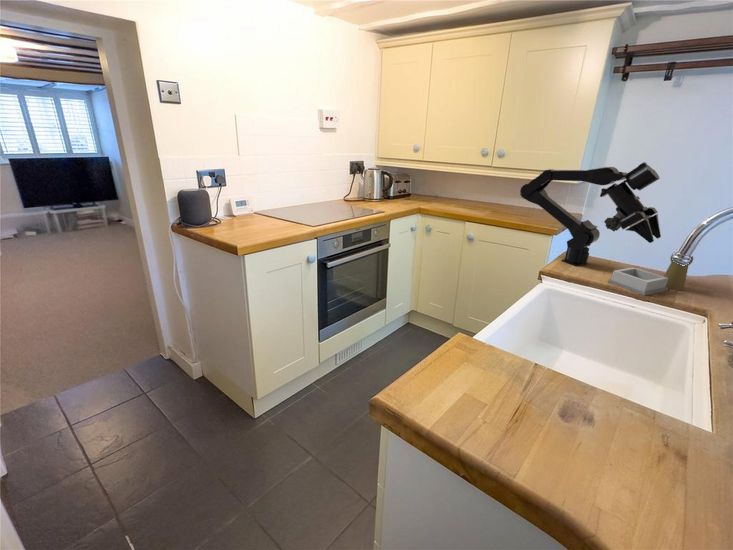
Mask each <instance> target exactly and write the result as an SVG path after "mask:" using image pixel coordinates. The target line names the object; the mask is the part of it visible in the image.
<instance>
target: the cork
mask: <svg viewBox="0 0 733 550" xmlns="http://www.w3.org/2000/svg"><path fill="white" fill-rule="evenodd" d="M674 253H675V252H673V253H672V254H671V255H670V264H669V266H668V268H667V269H666V271H665V273H664V275H663V276H664V277H667V278H668V281H667V284H666V287H668V289H667V290H672V291H677V290H682V291H685V286H686V279H687V275H688V269H689V266H690V265H691V264H692V263H693V262H694V256H693V255H692V257H691V260H690V262H689V264H687V265H685V266H682V265H680V264H677V263H675V262H673V260H672V256H673V254H674Z"/></svg>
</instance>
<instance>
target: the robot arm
mask: <svg viewBox="0 0 733 550" xmlns="http://www.w3.org/2000/svg"><path fill="white" fill-rule="evenodd" d="M660 178H661V177H660V176H659V173H658V172H657V171H656V170H655V169H653V168H652V166H650V165H649V164H647V162H642V163H640V164H639V165H638V166H636V167H635V168H633V169H632V170H630V171H629V172H624V171H623V172H622V171H619V169H617V167H614V166H605V167H599V168H591V169H584V170H583V169H553V168H552V169H550V168H549V169H545V170H544V171H542V173H540V174H539V175H538V176H536V177H535V178H533V179H531V181H530V182H528V183H525V184H523V185H522V186H521V188H520V190H519V194H520V197H521V198H522V199H523V200H525V201H528V202H529V203H531V204H534V205H537V206H539V207H540V208H542V210H544V211H545V212H547V213H548V214H549V215H550V216H552V217H553V219H555V220H556V221H558V222H559V223H560V224H561V225H562V226H564V227H565V228H566V229H567V230H568V232H569V234H570V235H571V238H570V239H568V240H567V241H566V245H567V249H566V252H565V256H564V258H562V259H561V261H562V262H564V263H566V264H567V263H568V264H570V265H571V266H572V265H573V266H576V267H577V266H579V267H580V266H586V265H589V261H588V259H589V257H590V252H589V251H590V248H589V247H590V246H591V245H592V244H593V243H595V242H597V241H598V240H599V238H600V235H601V234H600V233H601V232H600V231H599V229H598V226H597V225H595V224H593V223H592V222H591V221H590V220H589V219H586V220H584V221H581V220H579V219H578V218H577V217H575V216H574V215H572V214H571V213H570V212H569V211H567V210H566V209H565V208H564V207H562V206H561V205H560V204H558V203H557V202H556V201H555V200H554V199H552V198H551V197H550V196H549V195H548V193H547V191H546V188H547V187H548V186H549V185H550V183H552V182H553V181H561V182H562V181H563V182H565V181H566V182H585V183H589V184H593V185H597V186H608V185H610V186H608V187H606V188H605V187H603V188H601V189H600V195H599V197H600V198H602V197H603V198H604V197H606V196H608V197H609V198H610V199H611V201H612V202H613V203H614V205H615V206H616V207H615V211H616V212H617V213H616V214H614V215H613V216H612V217H606V218H605V220H604V223H605V225H604V226H605V228H606V229H608V230H611V231H612V232H615V231H619V229H620V228H621V229H622V230H625V231H629V232H635V233H636V234H637V235H639V236H640V237H642V238H643V239H644V240H645V241H647V242H648V243H650V244H652V243H653V242H655V240H654V237H655V239H657V240H658V239H660V238H662V235H661V228H660V221H659V214H658V213H659V211H658V210H657V209H656V208H655V207H653V206H652V207H651V206H649V207H647V206H644V204H643V203H642V202H641V201H640V199H641V198H640V196H639V195H637V196H636V194H635V193H634V192H633V191H635V190H638V191H642V190H643V189H645V188H646V187H648V186H650V185H651V184H654V183H655V182H657V181H659V180H660ZM618 181H619V182H620V181H622V182H620V183H615V182H618Z"/></svg>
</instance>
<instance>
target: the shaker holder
mask: <svg viewBox="0 0 733 550" xmlns="http://www.w3.org/2000/svg"><path fill="white" fill-rule="evenodd" d="M667 281H668V278H667V277H664V275H661V274H658V273H654V272H650V271H648V270H645V269H641V268H638V267H628V268H622V269H616V270H613V273H612V276H611V278H608V280H607V282H608V283H609V282H610V283H609V284H612V285H614V284H615V285H614V286H617V287H620V288H622V287H623V288H622V289H625V288H626V289H625V290H629V291H630V290H631V291H630V292H634V293H637V294H639V295H641V296H649V295H653V294H657V293H658V294H659V293H662V292H667V291H668V290H669V289H668V287H666V284H667Z"/></svg>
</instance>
